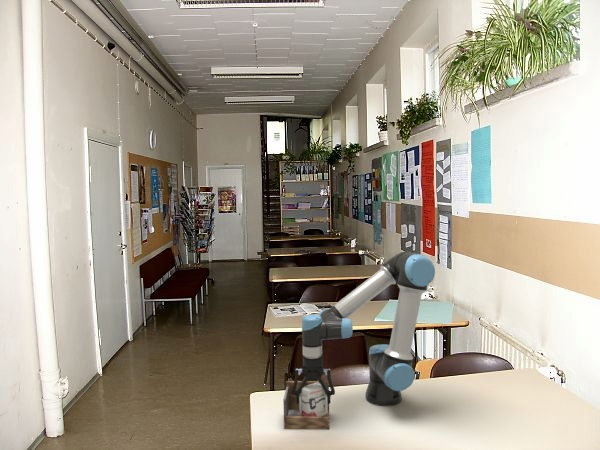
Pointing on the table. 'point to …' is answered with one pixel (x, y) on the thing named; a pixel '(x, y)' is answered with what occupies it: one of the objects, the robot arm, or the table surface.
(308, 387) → the ink box
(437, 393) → the table surface
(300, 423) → the open wooden box
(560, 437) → the table surface
